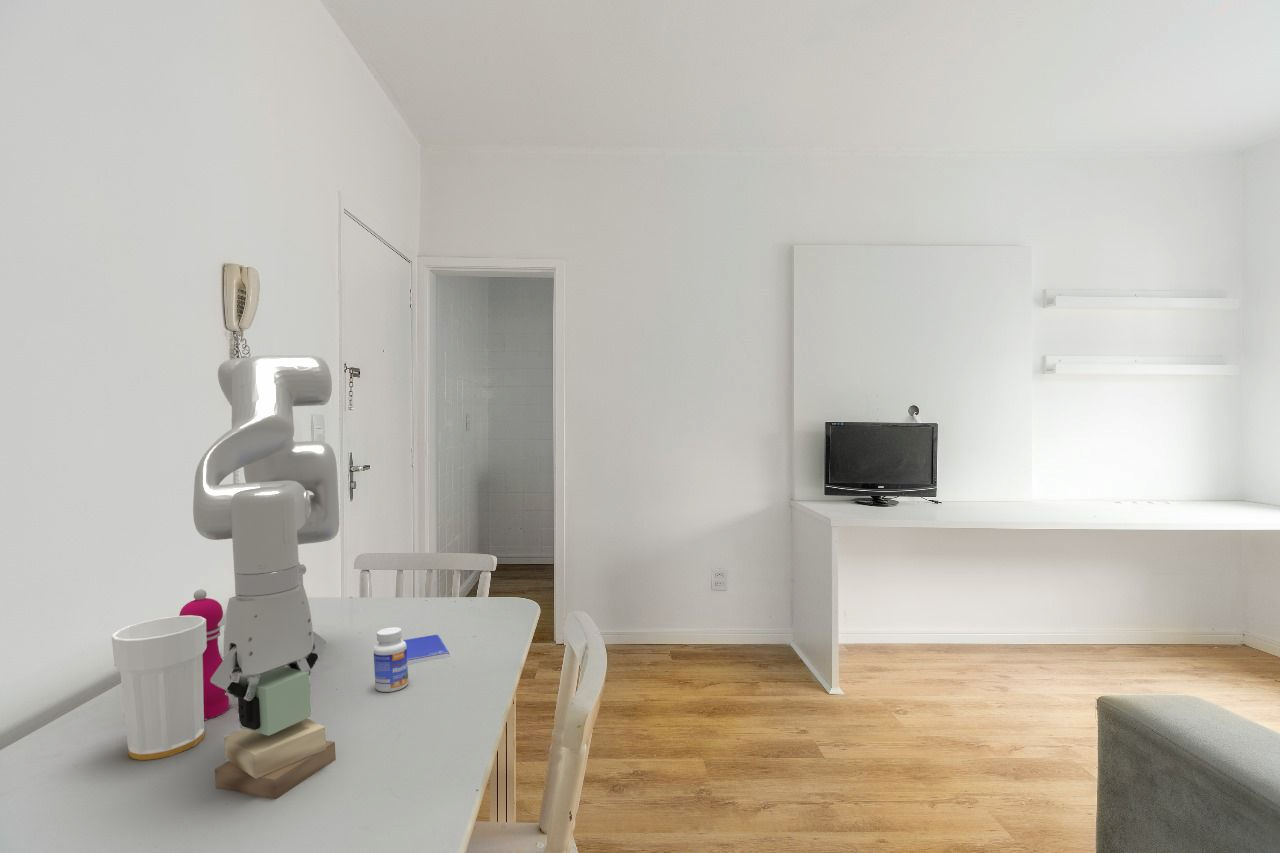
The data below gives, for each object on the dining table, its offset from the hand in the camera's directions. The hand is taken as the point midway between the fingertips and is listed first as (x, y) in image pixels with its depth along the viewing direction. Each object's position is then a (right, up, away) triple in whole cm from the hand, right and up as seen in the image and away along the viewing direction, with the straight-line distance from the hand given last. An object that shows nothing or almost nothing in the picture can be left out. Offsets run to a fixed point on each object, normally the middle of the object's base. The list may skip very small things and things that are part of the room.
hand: (275, 715), depth 93 cm
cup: (-21, -8, +10) cm, 24 cm away
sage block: (0, -1, 0) cm, 1 cm away
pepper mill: (-22, -8, +20) cm, 31 cm away
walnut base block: (0, -8, 0) cm, 8 cm away
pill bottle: (+6, -7, +28) cm, 29 cm away
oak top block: (0, -5, 0) cm, 5 cm away
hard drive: (+5, -7, +46) cm, 46 cm away
